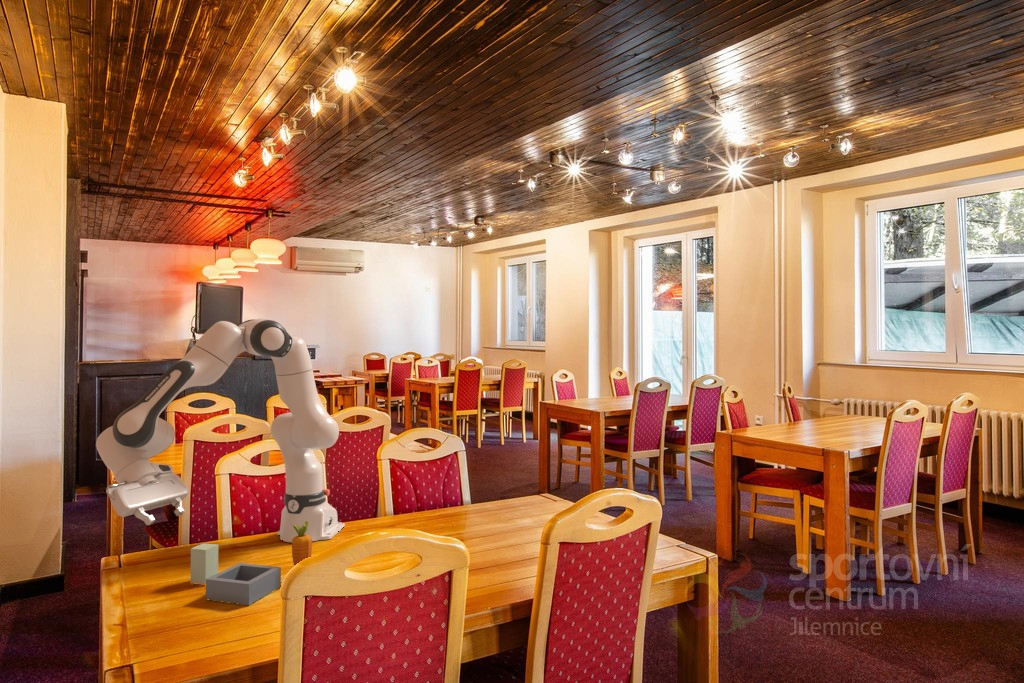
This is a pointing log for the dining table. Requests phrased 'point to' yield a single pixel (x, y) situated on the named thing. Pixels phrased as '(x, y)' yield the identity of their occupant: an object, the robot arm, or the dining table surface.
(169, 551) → the dining table surface
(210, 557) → the sage block
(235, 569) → the gray open box
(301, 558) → the carrot
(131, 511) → the robot arm
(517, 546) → the dining table surface
